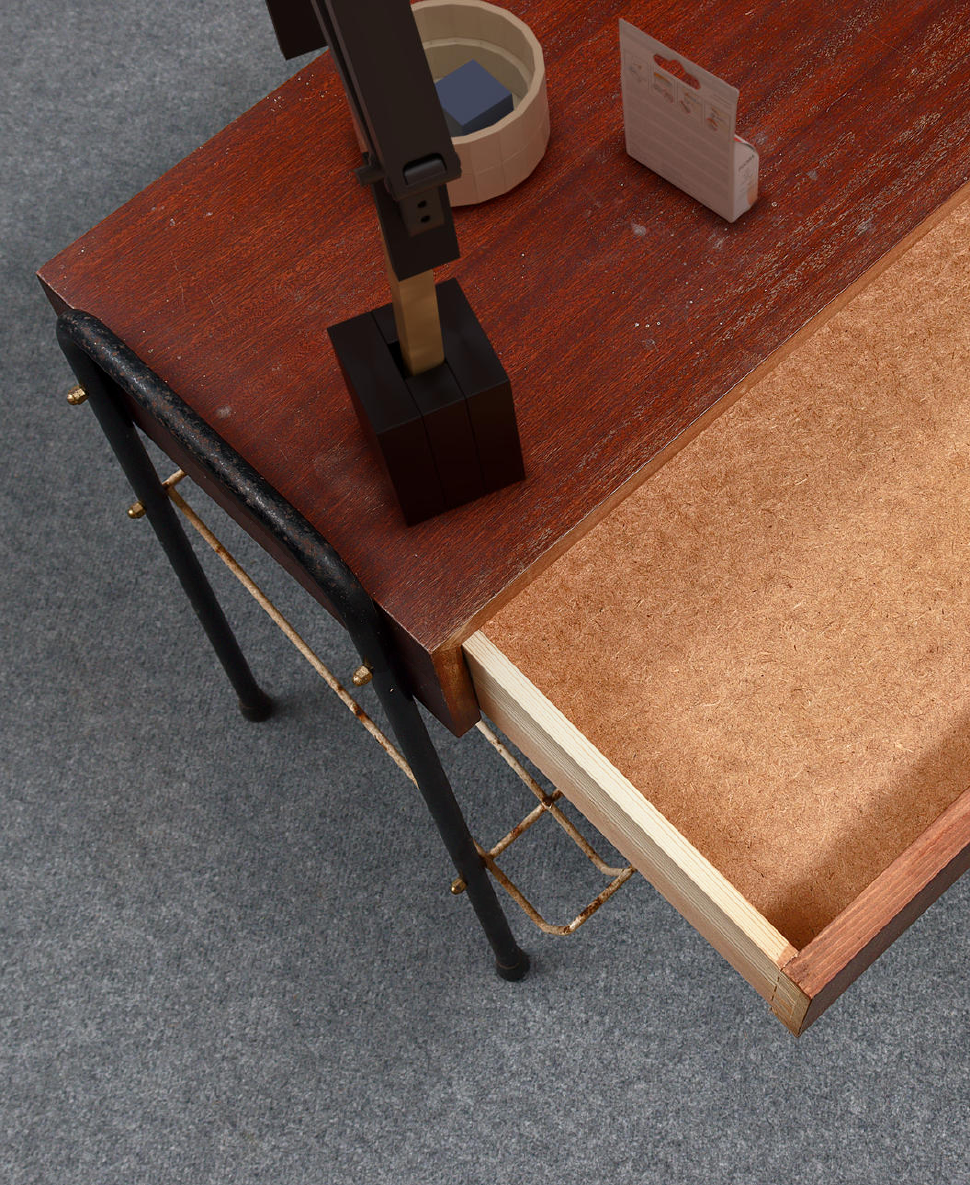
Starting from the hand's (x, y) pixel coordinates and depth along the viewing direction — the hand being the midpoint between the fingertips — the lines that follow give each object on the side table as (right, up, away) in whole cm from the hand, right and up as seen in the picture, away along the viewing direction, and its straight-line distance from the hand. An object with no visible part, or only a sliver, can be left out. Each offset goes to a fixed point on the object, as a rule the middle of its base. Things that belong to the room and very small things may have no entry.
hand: (366, 149), depth 59 cm
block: (+2, +11, +32) cm, 34 cm away
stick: (+1, -11, +22) cm, 25 cm away
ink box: (+16, +8, +31) cm, 35 cm away
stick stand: (+1, -11, +22) cm, 25 cm away
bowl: (+1, +11, +33) cm, 34 cm away
